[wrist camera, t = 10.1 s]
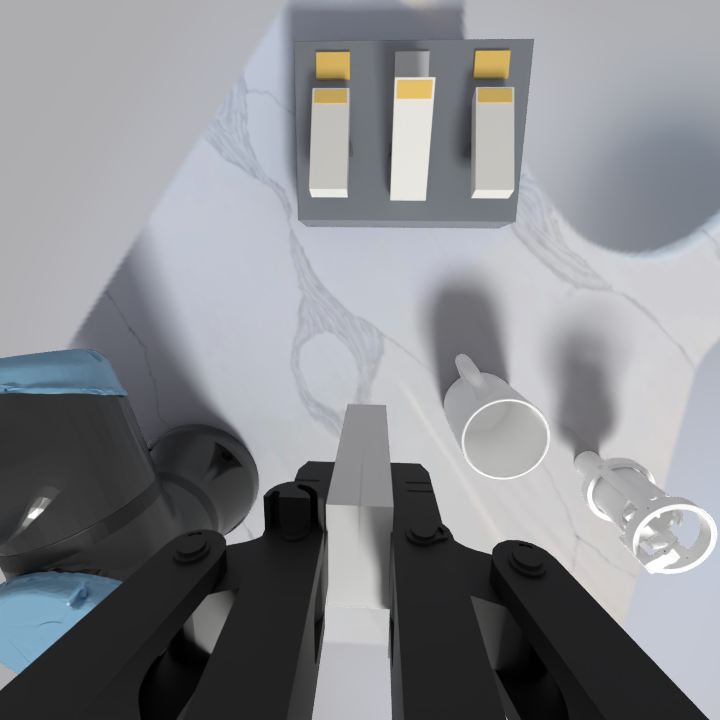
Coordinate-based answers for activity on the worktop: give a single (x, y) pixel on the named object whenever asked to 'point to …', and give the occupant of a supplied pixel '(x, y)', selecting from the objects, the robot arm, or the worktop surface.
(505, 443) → the mug
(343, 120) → the switch
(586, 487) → the white plastic fitting
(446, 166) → the switch unit
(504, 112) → the switch
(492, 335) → the worktop surface
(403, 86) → the switch
